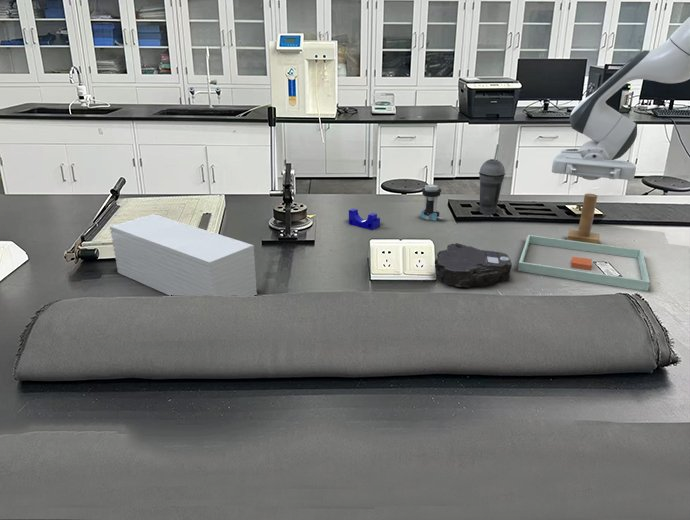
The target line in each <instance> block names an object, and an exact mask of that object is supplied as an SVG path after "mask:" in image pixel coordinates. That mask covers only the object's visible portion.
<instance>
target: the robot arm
mask: <svg viewBox="0 0 690 520" xmlns="http://www.w3.org/2000/svg"><path fill="white" fill-rule="evenodd" d="M635 80H645V81H653V82H657V83H662V84H678V83H683V82H686V81H688V80H690V16H689V17H687V19H686V20H684V21H683V22H682V23H681V24H680V25H679V26H678V27H677V29H675V30H674V32H673V33H672V34H671V35H670V36H669V37H668V39H666V41H664V42H663V43H661V45H659V46H658V47H655V48H653V49H650V50H648V49H647V50H645V49H644V50H642V51H640V52H638V53H637V54H635V55H634V56H633V57H632V58H630V59H629V60H627V62H626V63H624V64H623V65H622V66H621V67H620V68H618V69H617V70H616V71H615V72H614V73H613V74H612V75H610V77H608V78H607V80H605V81H604V82H603V83H602V84H601V85H600V86H598V87H597V88H596V89H595V90H594V91H592V92H591V93H590V94H589V95H588V96H587V97H585V98H583V99H582V100H581V101H579V102H578V103H577V104H576V105H575V106H574V107H573V109H572V110H571V112H570V114H569V123H570V126H571V129H572V130H574V131H576V132H578V133H580V134H582V135H584V136H585V137H587V138H589V140H588V141H587V142H585V143H583V144H582V145H581V146H580V147H579V148H570V149H569V148H567V149H561V150H560V153H558V154H556V155H555V156H554V158H553V161H552V165H551V172H552V173H553V174H560V175H561V174H562V175H569V176H575V177H579V178H582V179H584V180H587V181H595V180H596V181H597V180H599V179H601V178H602V179H603V178H605V179H609V180H625V181H632V180H634V179H635V175H636V170H637V166H636V165H635V164H634V163H633V162H631V161H626V160H618V159H620V158H622V157H623V156H624V155H625V154H627V152H628V151H629V149H631V147H632V146H633V145H634V143H635V141H636V139H637V136H638V124H637V123H636V122H634V121H633V120H632V119H630V118H629V117H628V116H626V115H625V114H622V113H620V112H619V111H617V110H616V109H615V108H613V107H612V106H610V105H608V104H607V100H608V99H610V98H611V97H612V96H614V95H615V94H616V93H617V92H618V91H619V90H621V88H623V87H624V86H625V85H626V84H628V83H629V82H632V81H635Z"/></svg>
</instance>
